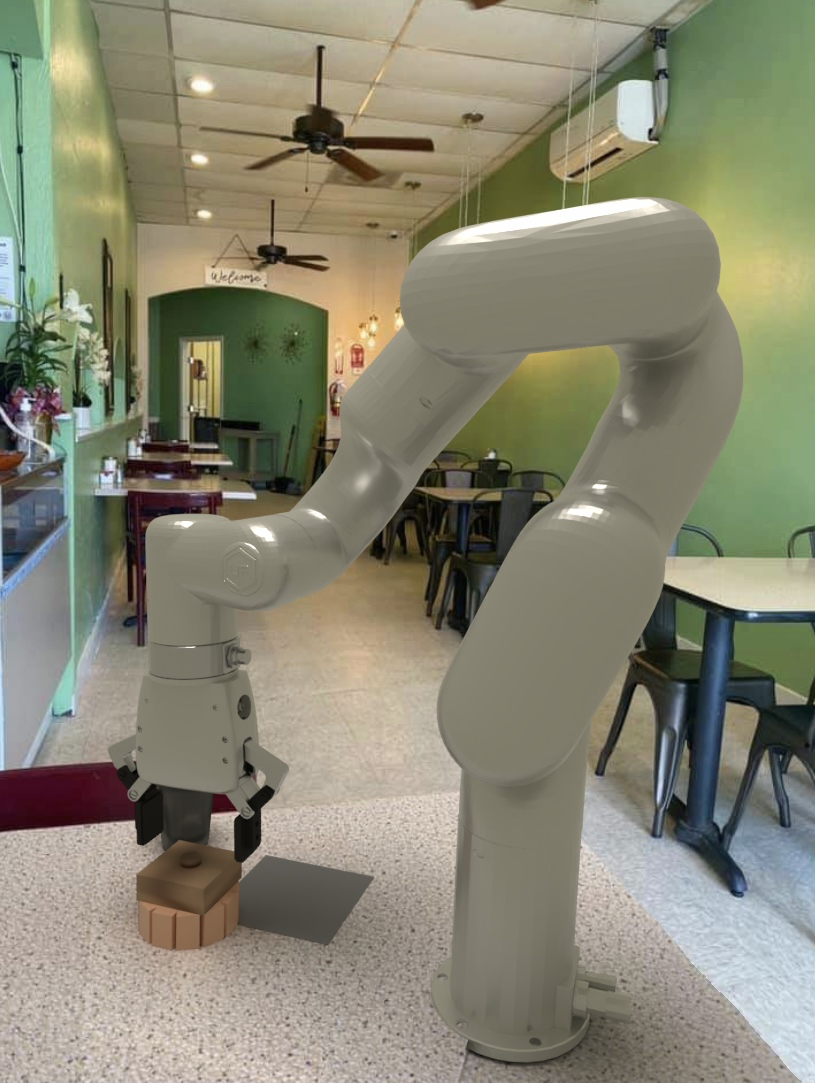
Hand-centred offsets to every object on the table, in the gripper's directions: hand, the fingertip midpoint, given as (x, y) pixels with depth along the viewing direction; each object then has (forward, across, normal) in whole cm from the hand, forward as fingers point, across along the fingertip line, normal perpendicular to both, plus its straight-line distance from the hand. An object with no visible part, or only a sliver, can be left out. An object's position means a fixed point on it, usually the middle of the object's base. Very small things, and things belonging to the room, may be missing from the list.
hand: (197, 846), depth 72 cm
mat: (+8, -6, -7) cm, 12 cm away
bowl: (+8, +1, 0) cm, 8 cm away
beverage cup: (+8, +9, -12) cm, 17 cm away
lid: (+4, +1, 0) cm, 4 cm away
